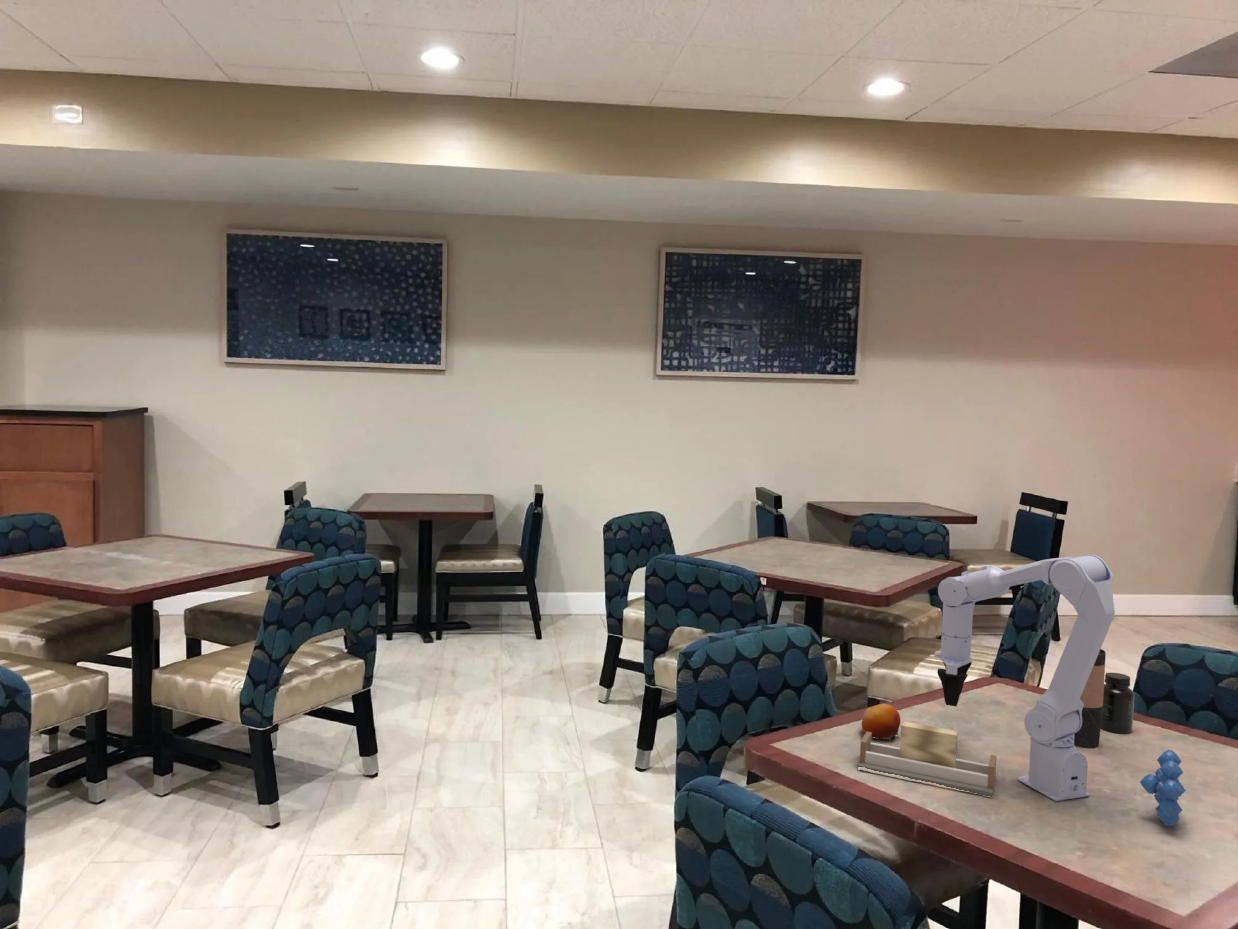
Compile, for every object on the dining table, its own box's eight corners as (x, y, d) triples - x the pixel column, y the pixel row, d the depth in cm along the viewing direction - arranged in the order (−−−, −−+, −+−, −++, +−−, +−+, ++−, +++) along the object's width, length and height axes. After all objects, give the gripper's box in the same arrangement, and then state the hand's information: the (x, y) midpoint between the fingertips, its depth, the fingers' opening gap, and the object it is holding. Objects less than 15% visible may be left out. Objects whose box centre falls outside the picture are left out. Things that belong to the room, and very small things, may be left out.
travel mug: (1107, 749, 182) (1113, 655, 180) (1070, 748, 182) (1076, 654, 180) (1088, 735, 189) (1094, 644, 188) (1053, 734, 189) (1058, 643, 188)
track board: (995, 777, 166) (997, 752, 166) (992, 798, 157) (993, 771, 157) (867, 752, 177) (868, 728, 177) (857, 770, 168) (858, 745, 168)
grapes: (1135, 801, 158) (1139, 736, 157) (1179, 810, 154) (1184, 744, 154) (1139, 828, 147) (1144, 759, 146) (1187, 838, 144) (1192, 768, 143)
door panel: (955, 772, 166) (957, 731, 165) (954, 777, 164) (956, 735, 163) (901, 761, 171) (903, 721, 170) (899, 765, 168) (900, 725, 168)
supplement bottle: (1119, 723, 197) (1123, 671, 196) (1138, 734, 191) (1142, 680, 190) (1090, 722, 197) (1093, 670, 196) (1108, 734, 190) (1111, 680, 189)
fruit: (901, 741, 179) (883, 704, 181) (868, 752, 184) (851, 716, 186) (914, 730, 186) (896, 695, 188) (882, 741, 190) (865, 706, 192)
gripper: (940, 624, 186) (936, 686, 187) (931, 640, 173) (928, 706, 174) (975, 628, 183) (972, 692, 184) (969, 645, 170) (965, 713, 171)
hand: (953, 699), depth 179 cm, fingers open, 7 cm apart
